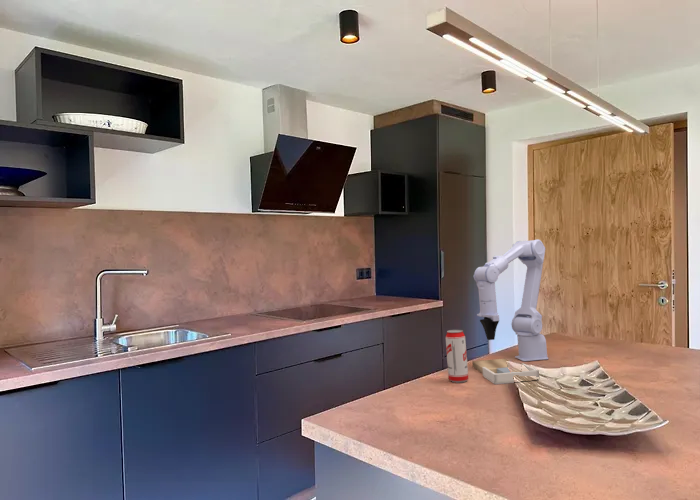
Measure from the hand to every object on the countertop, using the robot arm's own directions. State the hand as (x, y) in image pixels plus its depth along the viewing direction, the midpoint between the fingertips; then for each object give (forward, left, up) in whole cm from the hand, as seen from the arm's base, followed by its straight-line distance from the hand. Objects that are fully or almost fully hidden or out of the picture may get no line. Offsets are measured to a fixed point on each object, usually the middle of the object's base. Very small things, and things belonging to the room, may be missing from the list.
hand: (490, 339), depth 171 cm
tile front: (0, +17, -9) cm, 19 cm away
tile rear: (0, +12, -9) cm, 15 cm away
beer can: (+16, +13, -10) cm, 23 cm away
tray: (0, +16, -10) cm, 18 cm away
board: (0, +3, -10) cm, 10 cm away
